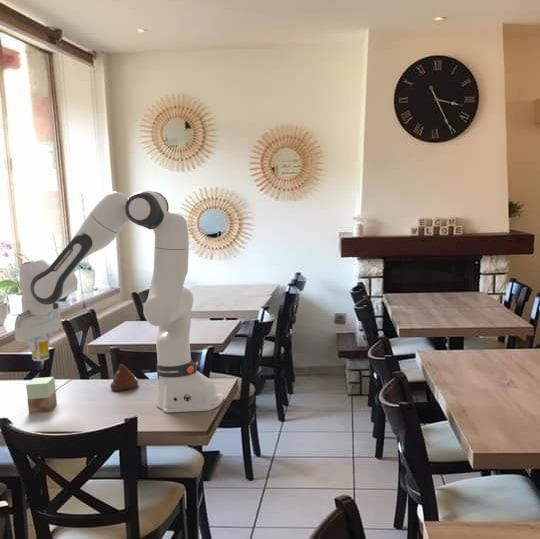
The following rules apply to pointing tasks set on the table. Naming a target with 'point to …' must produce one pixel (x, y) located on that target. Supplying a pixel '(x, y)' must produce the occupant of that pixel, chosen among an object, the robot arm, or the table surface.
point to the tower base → (42, 404)
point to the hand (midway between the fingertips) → (40, 348)
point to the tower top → (40, 388)
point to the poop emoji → (123, 379)
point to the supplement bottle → (41, 348)
